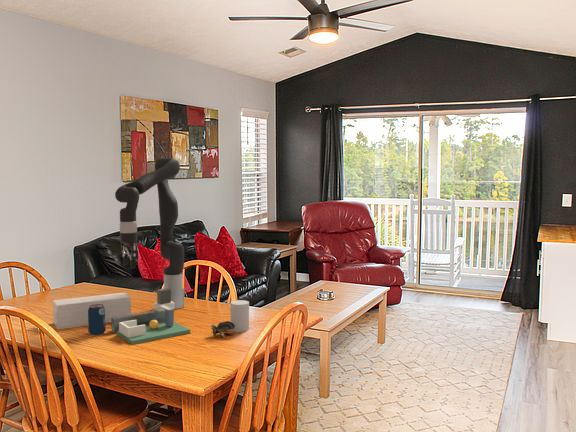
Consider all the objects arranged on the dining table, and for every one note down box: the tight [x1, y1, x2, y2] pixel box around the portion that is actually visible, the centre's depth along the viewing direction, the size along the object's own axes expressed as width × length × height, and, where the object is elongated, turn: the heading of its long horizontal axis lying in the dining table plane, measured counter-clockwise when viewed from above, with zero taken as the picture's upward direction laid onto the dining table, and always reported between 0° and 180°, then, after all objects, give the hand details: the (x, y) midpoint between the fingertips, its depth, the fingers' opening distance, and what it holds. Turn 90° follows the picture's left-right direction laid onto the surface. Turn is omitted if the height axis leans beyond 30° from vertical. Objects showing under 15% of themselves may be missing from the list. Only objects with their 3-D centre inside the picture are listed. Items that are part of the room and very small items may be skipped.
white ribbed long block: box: [52, 292, 132, 330], centre depth 253 cm, size 32×11×11 cm, turn 121°
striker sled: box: [153, 288, 176, 326], centre depth 247 cm, size 8×16×13 cm, turn 38°
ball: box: [149, 320, 159, 329], centre depth 236 cm, size 4×4×4 cm
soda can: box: [87, 304, 107, 337], centre depth 234 cm, size 7×7×12 cm
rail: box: [110, 309, 175, 334], centre depth 245 cm, size 28×3×6 cm, turn 128°
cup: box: [229, 299, 250, 333], centre depth 242 cm, size 8×8×12 cm
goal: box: [119, 320, 146, 338], centre depth 230 cm, size 8×10×4 cm
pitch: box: [116, 320, 191, 346], centre depth 234 cm, size 26×16×2 cm, turn 128°
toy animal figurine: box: [210, 320, 235, 338], centre depth 232 cm, size 8×7×9 cm
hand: (129, 266), depth 250 cm, fingers open, 8 cm apart
